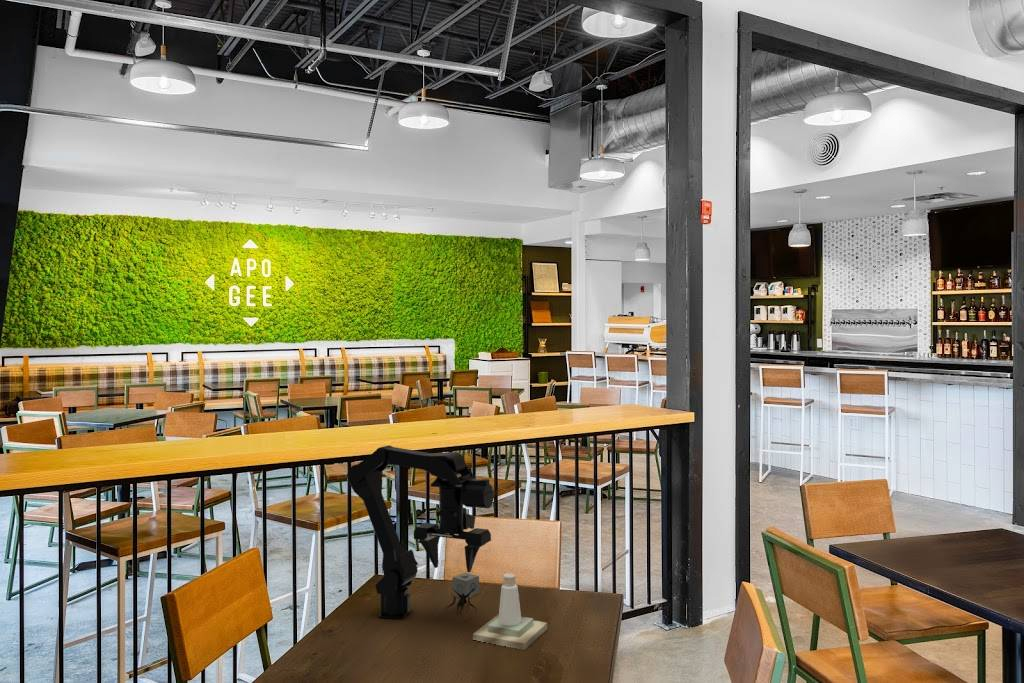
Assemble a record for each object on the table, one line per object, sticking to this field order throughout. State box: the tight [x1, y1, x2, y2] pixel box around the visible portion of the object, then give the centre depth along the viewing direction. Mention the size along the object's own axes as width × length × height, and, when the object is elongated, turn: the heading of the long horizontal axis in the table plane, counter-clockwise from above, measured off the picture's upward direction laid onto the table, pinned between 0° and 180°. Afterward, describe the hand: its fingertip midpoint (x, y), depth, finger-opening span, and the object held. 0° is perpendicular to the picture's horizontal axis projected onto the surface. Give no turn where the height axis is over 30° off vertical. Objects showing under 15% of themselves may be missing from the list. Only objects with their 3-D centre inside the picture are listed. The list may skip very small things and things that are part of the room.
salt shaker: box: [498, 572, 522, 626], centre depth 174 cm, size 5×5×11 cm
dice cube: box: [452, 572, 480, 597], centre depth 202 cm, size 5×5×5 cm
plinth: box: [472, 614, 548, 651], centre depth 174 cm, size 13×13×3 cm
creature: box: [445, 587, 477, 615], centre depth 190 cm, size 8×5×8 cm
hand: (452, 569), depth 182 cm, fingers open, 9 cm apart
